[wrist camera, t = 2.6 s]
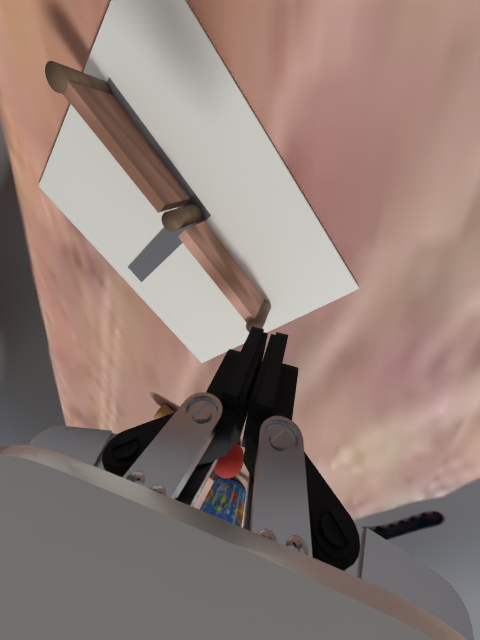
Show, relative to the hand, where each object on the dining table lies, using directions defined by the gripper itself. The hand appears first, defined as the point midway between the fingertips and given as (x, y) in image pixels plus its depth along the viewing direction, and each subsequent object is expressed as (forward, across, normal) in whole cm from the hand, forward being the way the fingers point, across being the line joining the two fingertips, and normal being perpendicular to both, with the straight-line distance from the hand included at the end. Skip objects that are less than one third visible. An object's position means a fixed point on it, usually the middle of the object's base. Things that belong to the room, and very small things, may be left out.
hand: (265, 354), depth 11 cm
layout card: (+15, +12, 0) cm, 19 cm away
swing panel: (+14, +6, +2) cm, 16 cm away
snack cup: (+16, +3, +55) cm, 57 cm away
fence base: (+15, +15, -7) cm, 22 cm away
